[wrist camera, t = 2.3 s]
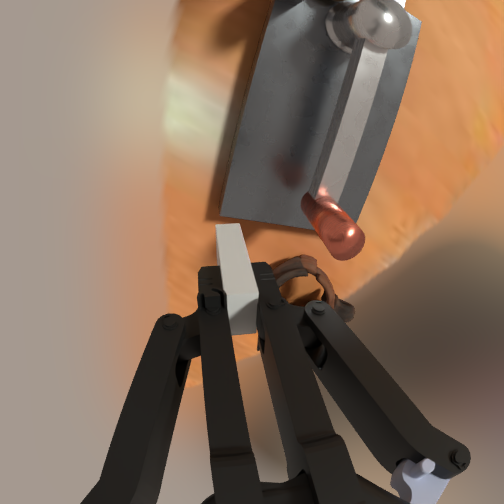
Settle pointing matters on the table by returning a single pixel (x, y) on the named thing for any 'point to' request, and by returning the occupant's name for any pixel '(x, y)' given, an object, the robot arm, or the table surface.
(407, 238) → the table surface
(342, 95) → the lever
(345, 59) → the base board
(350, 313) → the pottery mug
